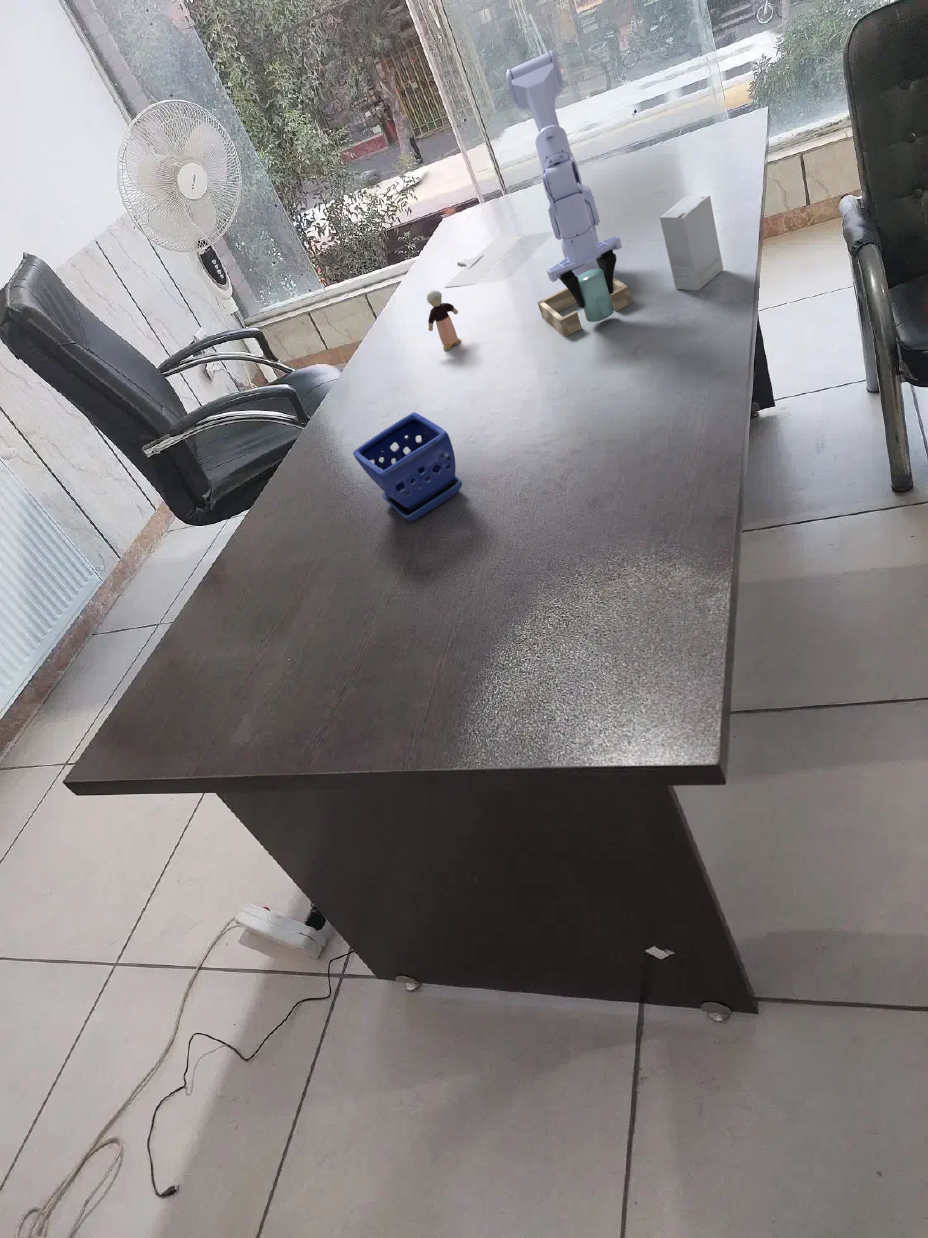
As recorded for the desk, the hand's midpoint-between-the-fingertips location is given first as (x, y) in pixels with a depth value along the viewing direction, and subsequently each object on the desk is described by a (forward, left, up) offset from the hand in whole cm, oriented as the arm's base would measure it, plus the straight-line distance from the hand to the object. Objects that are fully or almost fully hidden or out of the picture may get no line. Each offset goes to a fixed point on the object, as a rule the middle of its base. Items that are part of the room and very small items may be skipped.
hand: (595, 299), depth 168 cm
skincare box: (+3, +20, -5) cm, 21 cm away
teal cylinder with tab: (+1, 0, -3) cm, 3 cm away
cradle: (-8, 0, -5) cm, 9 cm away
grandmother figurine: (-24, -26, -5) cm, 36 cm away
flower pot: (+31, -47, -5) cm, 56 cm away
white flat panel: (-62, -4, -6) cm, 62 cm away
